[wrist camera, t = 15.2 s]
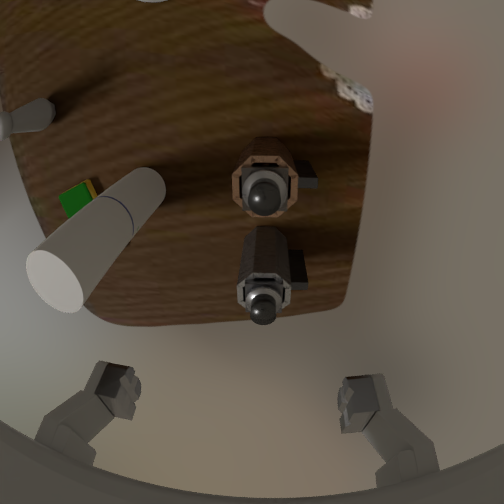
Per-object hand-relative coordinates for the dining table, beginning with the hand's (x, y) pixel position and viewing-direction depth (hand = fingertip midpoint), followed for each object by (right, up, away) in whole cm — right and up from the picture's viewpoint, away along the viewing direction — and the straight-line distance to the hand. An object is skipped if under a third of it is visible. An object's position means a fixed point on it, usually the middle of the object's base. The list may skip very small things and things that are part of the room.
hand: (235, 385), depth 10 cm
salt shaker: (-34, +29, +26) cm, 52 cm away
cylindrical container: (-16, +15, +33) cm, 40 cm away
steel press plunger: (+3, +4, +34) cm, 34 cm away
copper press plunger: (+2, +16, +27) cm, 31 cm away
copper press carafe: (+4, +18, +30) cm, 35 cm away
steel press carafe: (+4, +6, +37) cm, 38 cm away
